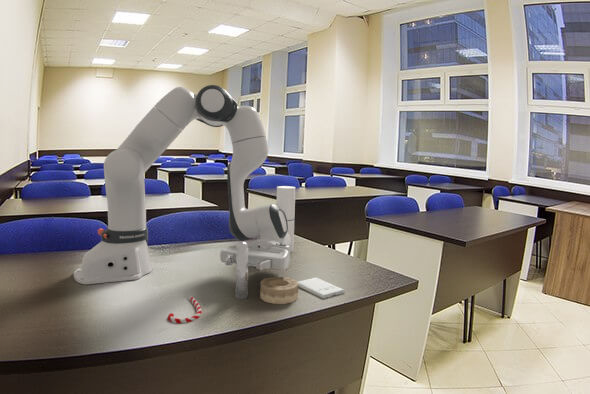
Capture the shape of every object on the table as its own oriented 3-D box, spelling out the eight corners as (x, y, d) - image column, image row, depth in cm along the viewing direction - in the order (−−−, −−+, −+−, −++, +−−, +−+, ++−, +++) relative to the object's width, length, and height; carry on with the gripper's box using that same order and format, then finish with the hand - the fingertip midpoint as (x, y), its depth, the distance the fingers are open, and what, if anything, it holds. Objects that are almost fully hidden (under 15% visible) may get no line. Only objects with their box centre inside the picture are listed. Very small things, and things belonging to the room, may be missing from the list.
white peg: (239, 300, 113) (239, 243, 111) (233, 296, 115) (234, 241, 113) (249, 297, 115) (250, 242, 112) (244, 294, 117) (244, 239, 115)
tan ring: (273, 306, 109) (273, 292, 108) (253, 294, 117) (254, 280, 117) (304, 299, 115) (305, 285, 114) (284, 287, 123) (284, 274, 123)
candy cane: (204, 295, 113) (199, 319, 98) (204, 300, 113) (199, 324, 98) (174, 296, 112) (165, 320, 97) (174, 301, 112) (165, 325, 97)
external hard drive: (316, 282, 131) (344, 294, 121) (295, 287, 126) (323, 300, 116) (316, 277, 130) (344, 289, 121) (296, 281, 125) (323, 294, 116)
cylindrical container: (291, 253, 160) (293, 188, 157) (273, 251, 162) (274, 187, 158) (294, 248, 167) (297, 186, 164) (277, 247, 169) (279, 185, 165)
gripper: (232, 238, 130) (209, 249, 117) (294, 246, 124) (277, 258, 111) (232, 258, 131) (209, 270, 118) (293, 266, 124) (276, 281, 111)
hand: (242, 264), depth 114 cm, fingers open, 8 cm apart
